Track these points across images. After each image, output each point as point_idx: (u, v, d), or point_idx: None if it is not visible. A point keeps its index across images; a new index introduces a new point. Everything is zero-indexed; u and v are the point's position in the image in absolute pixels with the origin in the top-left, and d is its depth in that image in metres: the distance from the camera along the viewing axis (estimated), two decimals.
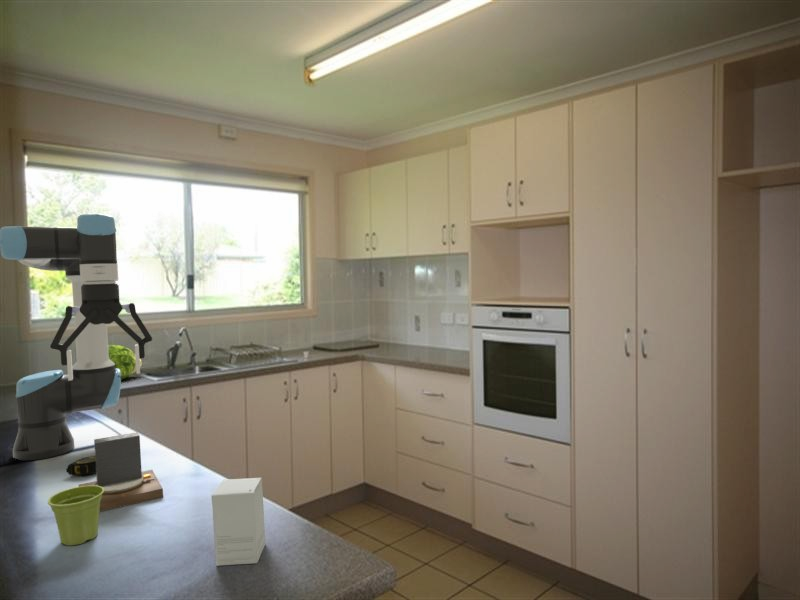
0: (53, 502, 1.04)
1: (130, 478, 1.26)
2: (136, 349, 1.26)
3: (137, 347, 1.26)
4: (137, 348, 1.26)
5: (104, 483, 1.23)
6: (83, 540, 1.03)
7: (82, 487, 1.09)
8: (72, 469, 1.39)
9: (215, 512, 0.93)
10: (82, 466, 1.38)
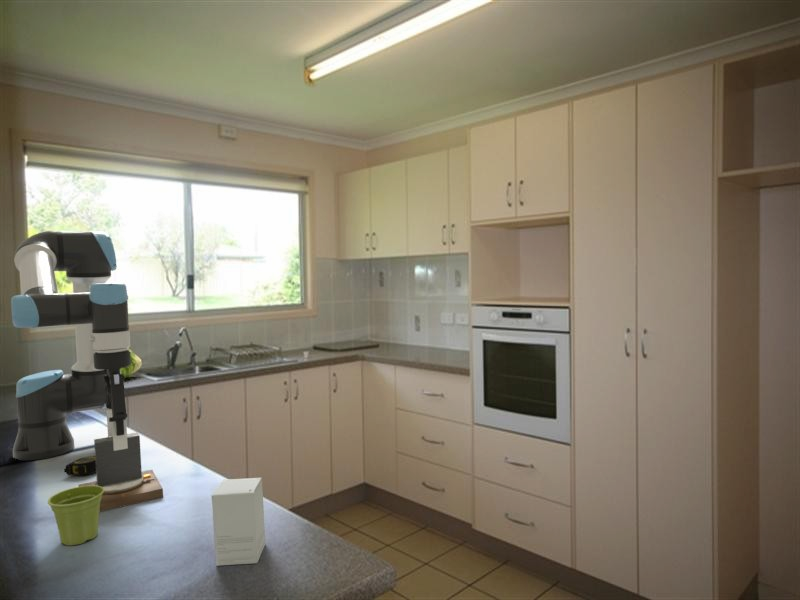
0: (53, 502, 1.04)
1: (130, 478, 1.26)
2: (112, 424, 1.19)
3: (112, 423, 1.19)
4: (112, 424, 1.19)
5: (104, 483, 1.23)
6: (83, 540, 1.03)
7: (82, 487, 1.09)
8: (70, 469, 1.39)
9: (215, 512, 0.93)
10: (80, 466, 1.38)
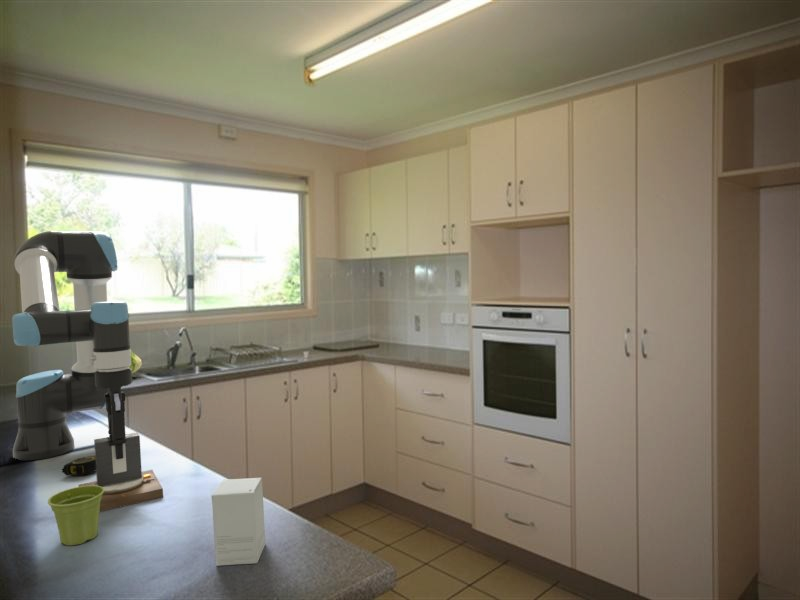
0: (53, 502, 1.04)
1: (130, 478, 1.26)
2: None
3: None
4: None
5: (104, 483, 1.23)
6: (83, 540, 1.03)
7: (82, 487, 1.09)
8: (68, 469, 1.39)
9: (215, 512, 0.93)
10: (78, 466, 1.38)
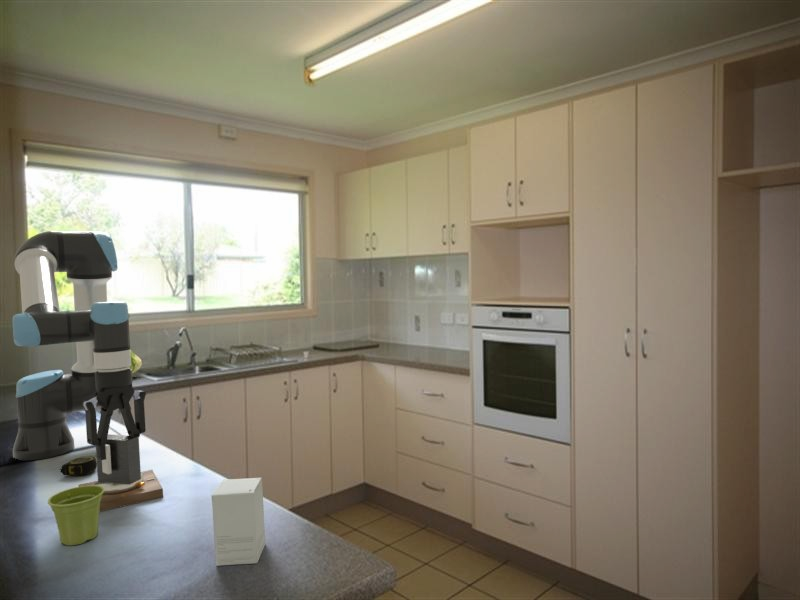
0: (53, 502, 1.04)
1: (121, 481, 1.24)
2: None
3: None
4: None
5: (102, 479, 1.25)
6: (83, 540, 1.03)
7: (82, 487, 1.09)
8: (66, 469, 1.39)
9: (215, 512, 0.93)
10: (76, 466, 1.38)
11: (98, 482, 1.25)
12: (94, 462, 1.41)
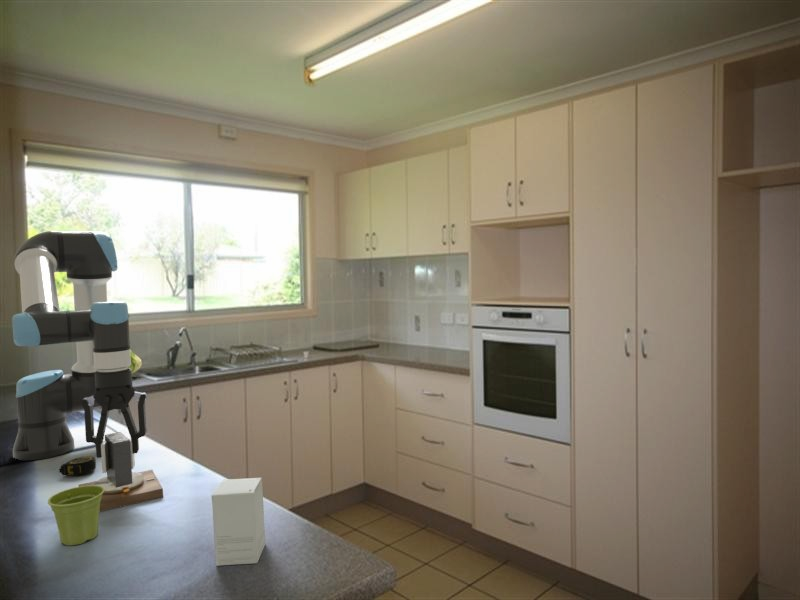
0: (53, 502, 1.04)
1: (113, 482, 1.23)
2: None
3: None
4: None
5: (108, 476, 1.27)
6: (83, 540, 1.03)
7: (82, 487, 1.09)
8: (65, 469, 1.39)
9: (215, 512, 0.93)
10: (75, 466, 1.38)
11: (105, 478, 1.28)
12: (93, 462, 1.41)
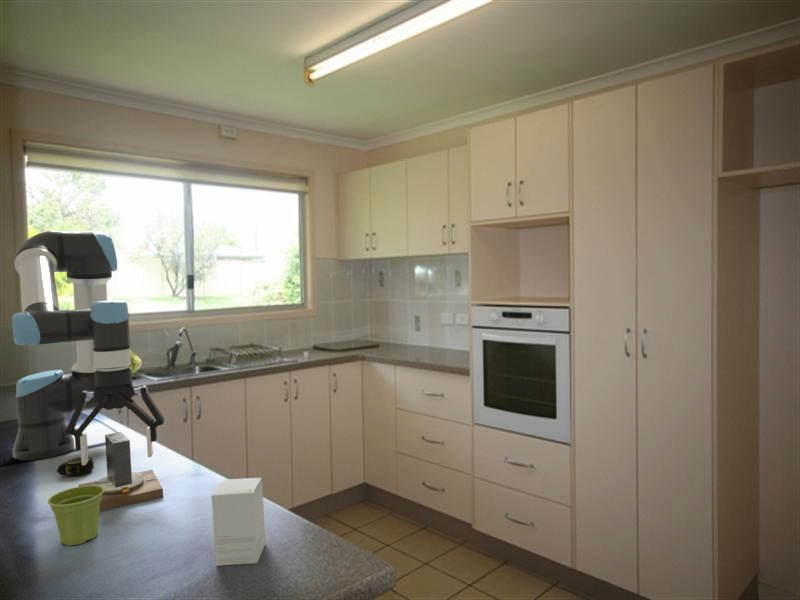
0: (53, 502, 1.04)
1: (113, 482, 1.23)
2: None
3: None
4: None
5: (108, 476, 1.27)
6: (83, 540, 1.03)
7: (82, 487, 1.09)
8: (63, 469, 1.39)
9: (215, 512, 0.93)
10: (73, 466, 1.38)
11: (105, 478, 1.28)
12: (91, 462, 1.41)
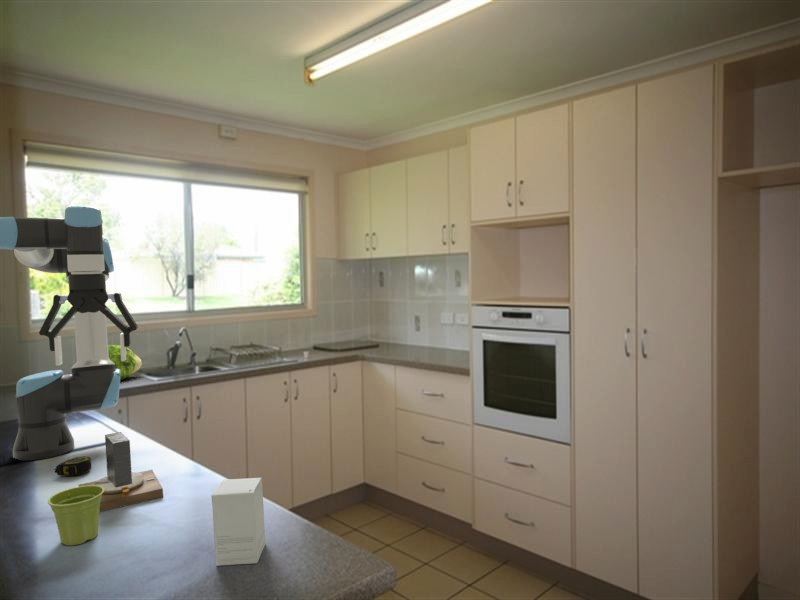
0: (53, 502, 1.04)
1: (113, 482, 1.23)
2: None
3: None
4: None
5: (108, 476, 1.27)
6: (83, 540, 1.03)
7: (82, 487, 1.09)
8: (61, 470, 1.39)
9: (215, 512, 0.93)
10: (70, 467, 1.38)
11: (105, 478, 1.28)
12: (89, 462, 1.41)
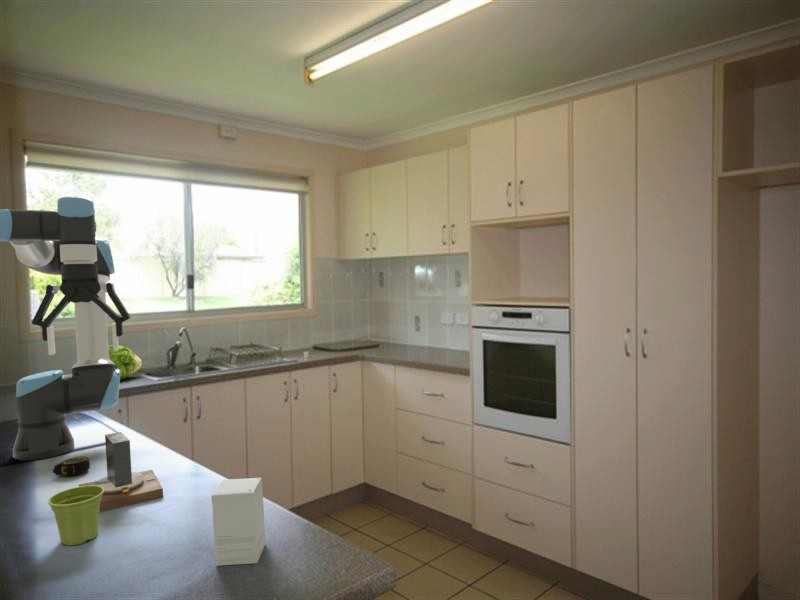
0: (53, 502, 1.04)
1: (113, 482, 1.23)
2: None
3: None
4: None
5: (108, 476, 1.27)
6: (83, 540, 1.03)
7: (82, 487, 1.09)
8: (59, 470, 1.38)
9: (215, 512, 0.93)
10: (68, 467, 1.38)
11: (105, 478, 1.28)
12: (87, 462, 1.41)
